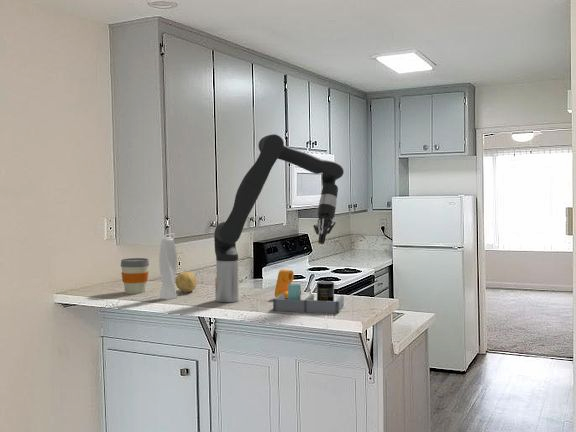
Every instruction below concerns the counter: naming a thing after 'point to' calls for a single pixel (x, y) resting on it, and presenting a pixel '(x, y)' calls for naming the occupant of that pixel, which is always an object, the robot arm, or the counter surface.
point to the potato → (186, 281)
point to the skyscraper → (168, 267)
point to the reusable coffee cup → (134, 275)
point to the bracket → (283, 282)
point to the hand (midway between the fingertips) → (321, 243)
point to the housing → (305, 302)
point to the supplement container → (325, 291)
